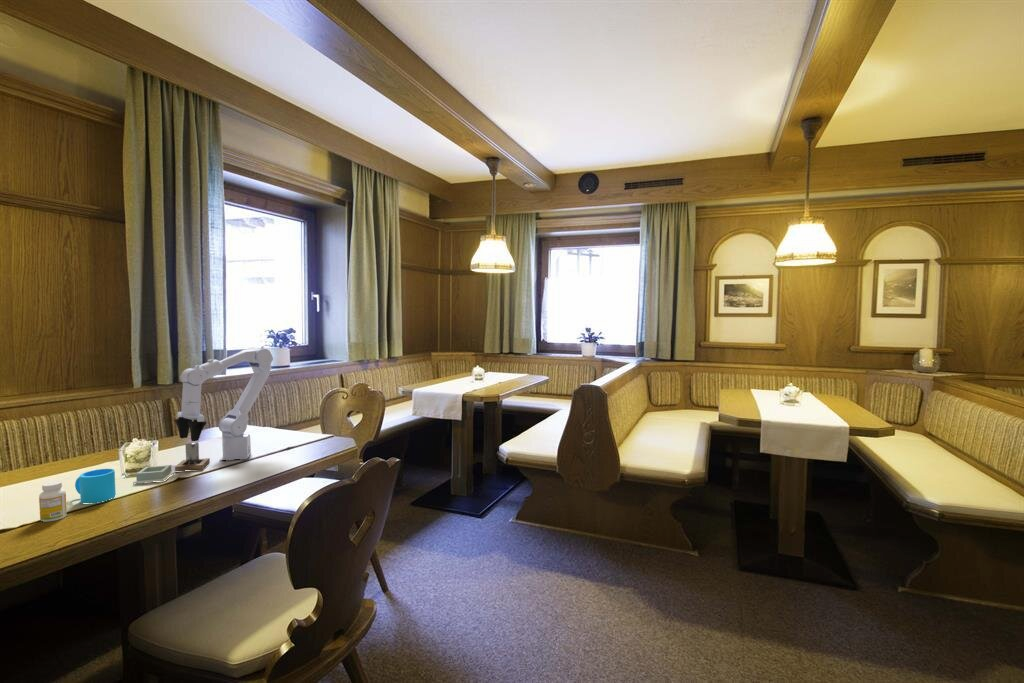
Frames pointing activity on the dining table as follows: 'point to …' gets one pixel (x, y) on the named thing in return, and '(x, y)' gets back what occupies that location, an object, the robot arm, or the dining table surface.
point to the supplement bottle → (52, 502)
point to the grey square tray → (153, 474)
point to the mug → (96, 485)
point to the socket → (200, 466)
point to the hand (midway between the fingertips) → (189, 439)
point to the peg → (192, 453)
